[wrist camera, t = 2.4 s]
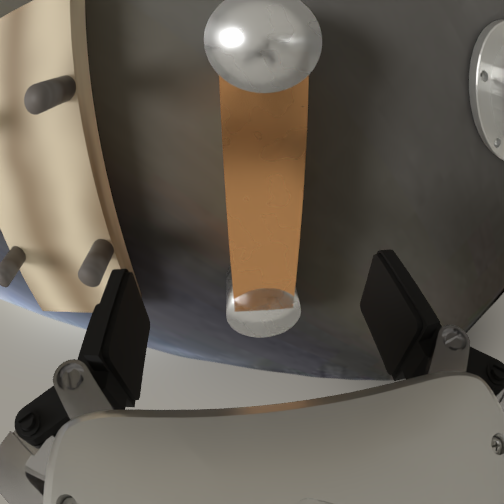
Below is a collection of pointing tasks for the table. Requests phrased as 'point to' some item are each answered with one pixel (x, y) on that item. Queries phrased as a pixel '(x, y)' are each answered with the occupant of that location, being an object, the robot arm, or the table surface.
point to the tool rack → (54, 161)
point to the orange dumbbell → (263, 152)
